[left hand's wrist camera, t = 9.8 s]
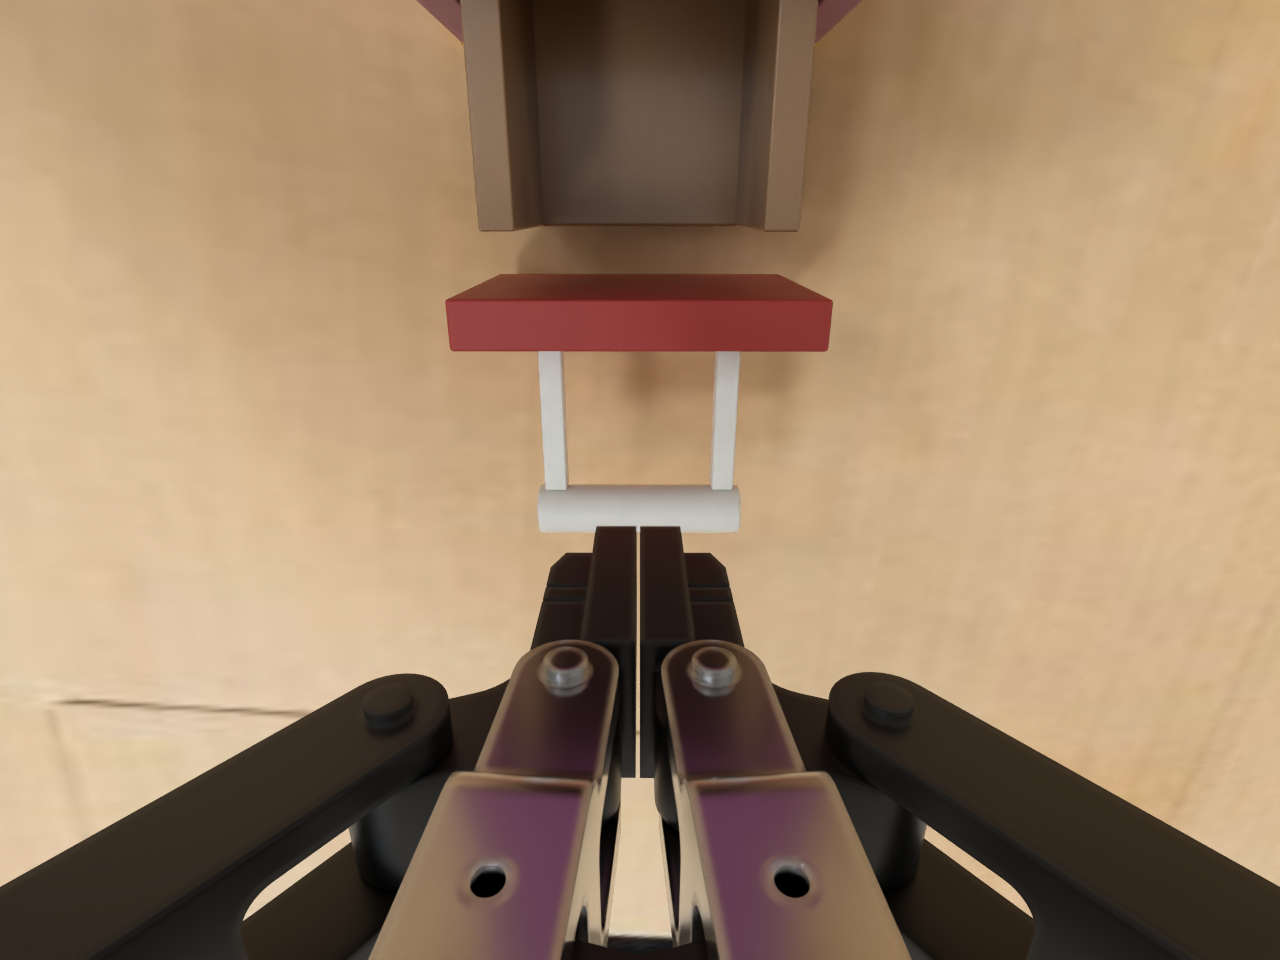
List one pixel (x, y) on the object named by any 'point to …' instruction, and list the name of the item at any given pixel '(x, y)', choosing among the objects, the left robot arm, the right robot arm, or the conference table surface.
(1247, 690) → the conference table surface
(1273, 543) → the conference table surface
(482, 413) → the conference table surface
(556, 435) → the drawer
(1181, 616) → the conference table surface
